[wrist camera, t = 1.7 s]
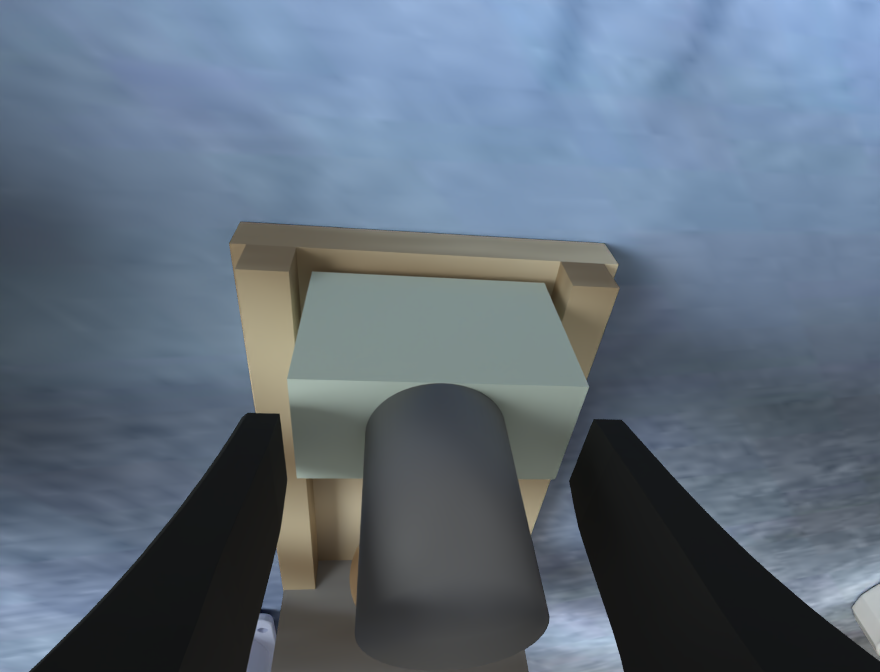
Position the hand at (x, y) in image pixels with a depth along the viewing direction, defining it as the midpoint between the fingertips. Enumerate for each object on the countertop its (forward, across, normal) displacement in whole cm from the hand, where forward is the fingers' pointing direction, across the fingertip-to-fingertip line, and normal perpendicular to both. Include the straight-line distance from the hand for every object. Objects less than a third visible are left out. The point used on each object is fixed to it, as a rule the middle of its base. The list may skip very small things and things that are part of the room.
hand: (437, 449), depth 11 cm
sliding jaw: (+4, 0, 0) cm, 4 cm away
